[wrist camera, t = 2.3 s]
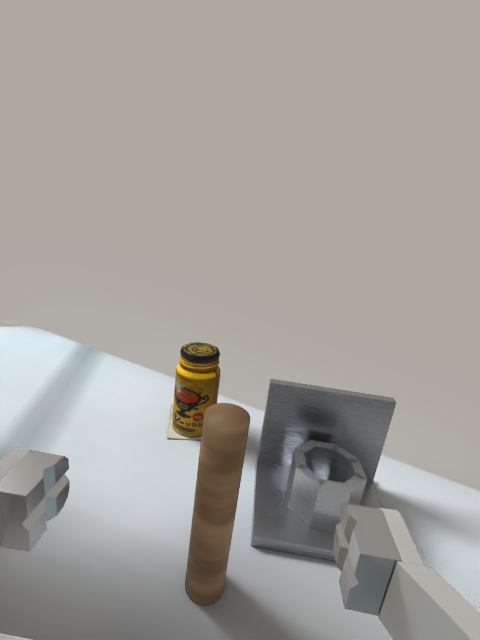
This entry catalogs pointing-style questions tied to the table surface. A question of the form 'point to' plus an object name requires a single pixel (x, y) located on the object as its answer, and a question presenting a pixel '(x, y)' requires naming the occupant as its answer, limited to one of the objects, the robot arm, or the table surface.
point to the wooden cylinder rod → (215, 500)
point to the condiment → (194, 390)
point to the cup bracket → (315, 464)
